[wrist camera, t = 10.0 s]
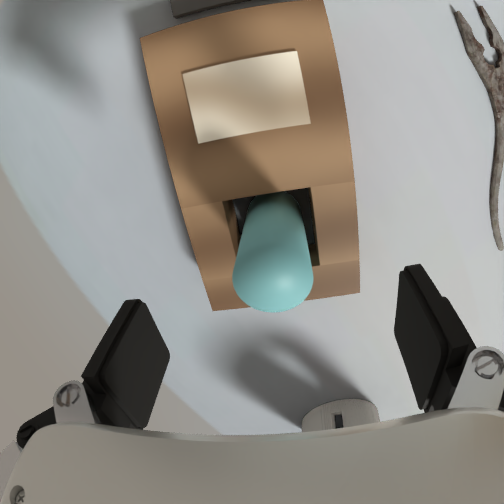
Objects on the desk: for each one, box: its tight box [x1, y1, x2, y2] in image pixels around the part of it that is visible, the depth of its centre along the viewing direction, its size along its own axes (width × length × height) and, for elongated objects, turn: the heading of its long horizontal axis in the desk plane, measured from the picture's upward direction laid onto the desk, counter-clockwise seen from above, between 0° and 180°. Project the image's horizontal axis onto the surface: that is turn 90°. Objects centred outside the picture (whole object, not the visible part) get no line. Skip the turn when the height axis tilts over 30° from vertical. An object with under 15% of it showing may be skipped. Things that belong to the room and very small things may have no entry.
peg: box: [232, 191, 313, 312], centre depth 17 cm, size 4×4×8 cm
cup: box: [302, 399, 380, 432], centre depth 27 cm, size 9×9×12 cm
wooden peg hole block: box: [140, 0, 360, 311], centre depth 18 cm, size 18×10×3 cm, turn 11°
